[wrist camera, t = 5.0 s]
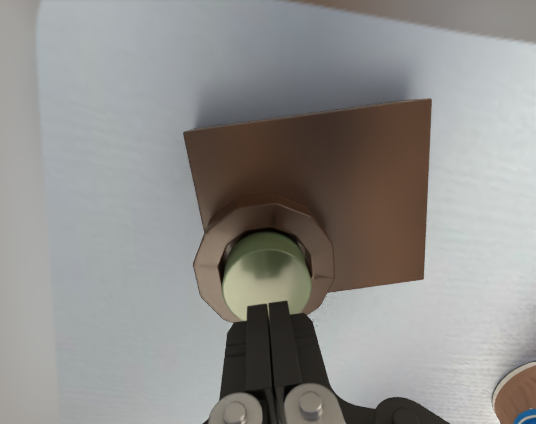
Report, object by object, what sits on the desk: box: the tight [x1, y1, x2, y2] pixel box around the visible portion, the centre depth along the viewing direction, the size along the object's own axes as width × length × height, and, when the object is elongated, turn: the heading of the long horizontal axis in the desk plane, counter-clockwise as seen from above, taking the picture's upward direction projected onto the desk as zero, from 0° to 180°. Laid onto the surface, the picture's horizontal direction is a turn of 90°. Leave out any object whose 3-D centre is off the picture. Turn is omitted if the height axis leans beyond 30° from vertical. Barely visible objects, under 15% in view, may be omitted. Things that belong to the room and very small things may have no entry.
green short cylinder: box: [222, 232, 312, 321], centre depth 14 cm, size 4×4×2 cm
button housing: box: [183, 98, 432, 323], centre depth 16 cm, size 12×10×4 cm
